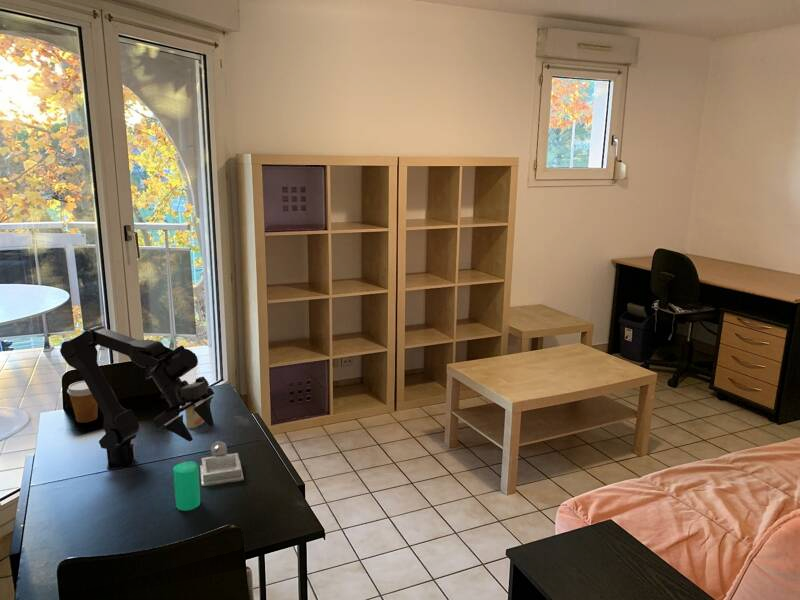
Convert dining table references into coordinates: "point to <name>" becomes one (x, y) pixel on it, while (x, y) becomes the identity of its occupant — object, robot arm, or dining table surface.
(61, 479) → the dining table surface
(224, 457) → the white tray
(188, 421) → the lighter
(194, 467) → the candle
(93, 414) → the disposable coffee cup
